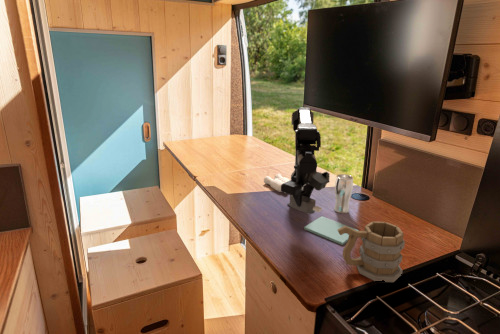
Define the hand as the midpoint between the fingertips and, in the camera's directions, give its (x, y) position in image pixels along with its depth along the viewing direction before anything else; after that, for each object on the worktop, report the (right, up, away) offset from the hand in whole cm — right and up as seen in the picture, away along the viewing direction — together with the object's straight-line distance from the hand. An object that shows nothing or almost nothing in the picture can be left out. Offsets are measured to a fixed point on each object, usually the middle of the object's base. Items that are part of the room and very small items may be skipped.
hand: (302, 204), depth 124 cm
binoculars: (-4, +3, +45) cm, 45 cm away
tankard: (+17, -18, -16) cm, 30 cm away
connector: (+1, -2, 0) cm, 2 cm away
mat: (+12, -10, +5) cm, 16 cm away
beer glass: (+20, -5, +22) cm, 30 cm away
